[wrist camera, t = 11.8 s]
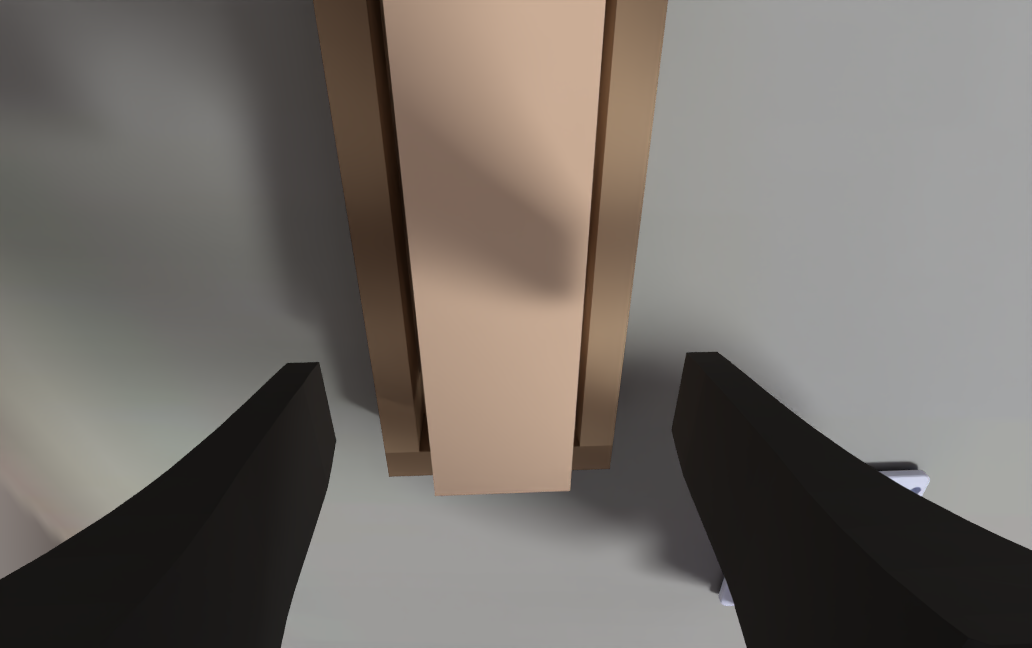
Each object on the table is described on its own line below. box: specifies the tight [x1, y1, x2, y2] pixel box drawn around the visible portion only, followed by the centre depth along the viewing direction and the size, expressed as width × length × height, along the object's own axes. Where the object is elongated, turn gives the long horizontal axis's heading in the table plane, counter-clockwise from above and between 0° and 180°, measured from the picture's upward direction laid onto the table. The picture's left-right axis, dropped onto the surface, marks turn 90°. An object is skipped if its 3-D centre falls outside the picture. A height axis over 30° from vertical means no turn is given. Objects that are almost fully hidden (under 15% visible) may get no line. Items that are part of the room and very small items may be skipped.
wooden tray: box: [313, 0, 668, 477], centre depth 18 cm, size 18×8×3 cm, turn 0°
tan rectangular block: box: [383, 0, 606, 496], centre depth 16 cm, size 13×4×6 cm, turn 0°
